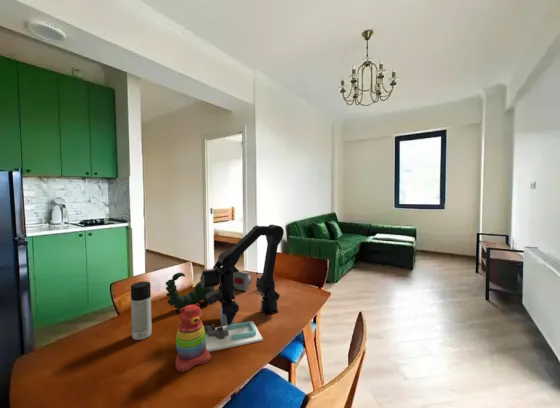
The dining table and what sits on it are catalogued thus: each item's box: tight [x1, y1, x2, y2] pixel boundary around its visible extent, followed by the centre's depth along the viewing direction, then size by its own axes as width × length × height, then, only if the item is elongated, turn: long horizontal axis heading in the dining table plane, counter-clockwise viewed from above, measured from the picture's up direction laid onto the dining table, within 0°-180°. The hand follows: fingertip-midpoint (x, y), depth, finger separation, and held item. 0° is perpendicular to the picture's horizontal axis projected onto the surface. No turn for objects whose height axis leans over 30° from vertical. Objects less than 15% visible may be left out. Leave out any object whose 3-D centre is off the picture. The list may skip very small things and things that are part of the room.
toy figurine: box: [165, 272, 216, 312], centre depth 126 cm, size 9×19×25 cm
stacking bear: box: [175, 303, 212, 373], centre depth 87 cm, size 11×10×18 cm
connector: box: [219, 309, 235, 326], centre depth 111 cm, size 5×4×5 cm
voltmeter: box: [234, 270, 279, 292], centre depth 150 cm, size 27×11×10 cm, turn 96°
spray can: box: [130, 281, 152, 341], centre depth 100 cm, size 7×7×20 cm
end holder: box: [228, 320, 256, 340], centre depth 102 cm, size 9×9×2 cm
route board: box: [203, 320, 264, 353], centre depth 101 cm, size 20×14×3 cm
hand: (227, 320), depth 111 cm, fingers open, 9 cm apart
